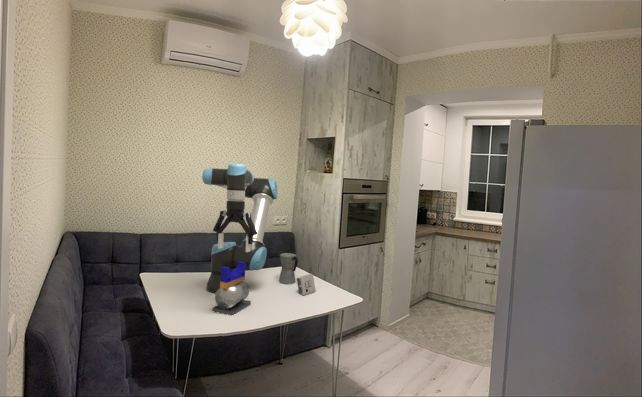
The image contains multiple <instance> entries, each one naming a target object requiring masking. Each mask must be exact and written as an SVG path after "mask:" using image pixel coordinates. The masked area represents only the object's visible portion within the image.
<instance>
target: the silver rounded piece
mask: <svg viewBox="0 0 642 397" xmlns="http://www.w3.org/2000/svg"><path fill="white" fill-rule="evenodd" d="M245 279H246V275H245V276H244V277H241V278H238V279H236V280H233V281H230V282H228V283H225V282H220V289H218V290H217V292H216V293H214V294H215V295H214V300H215V301H214V302H215V303H216V305H215V306H214V307H212V308H211V311H214V312H213V313H217V312H219V313H218V314H222V313H224V314H223V315H227V314H228V316H232V315H233V316H235V315H236V314H238V313H240V312H241V311H242V310H244V309H246V308H247V307H249V306H251V305H252V303H251V302H252V301H251V300H248V299H247V298H248V296H249V294H250V286H249V285H248V284H247V282H245ZM234 314H235V315H234Z"/></svg>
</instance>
